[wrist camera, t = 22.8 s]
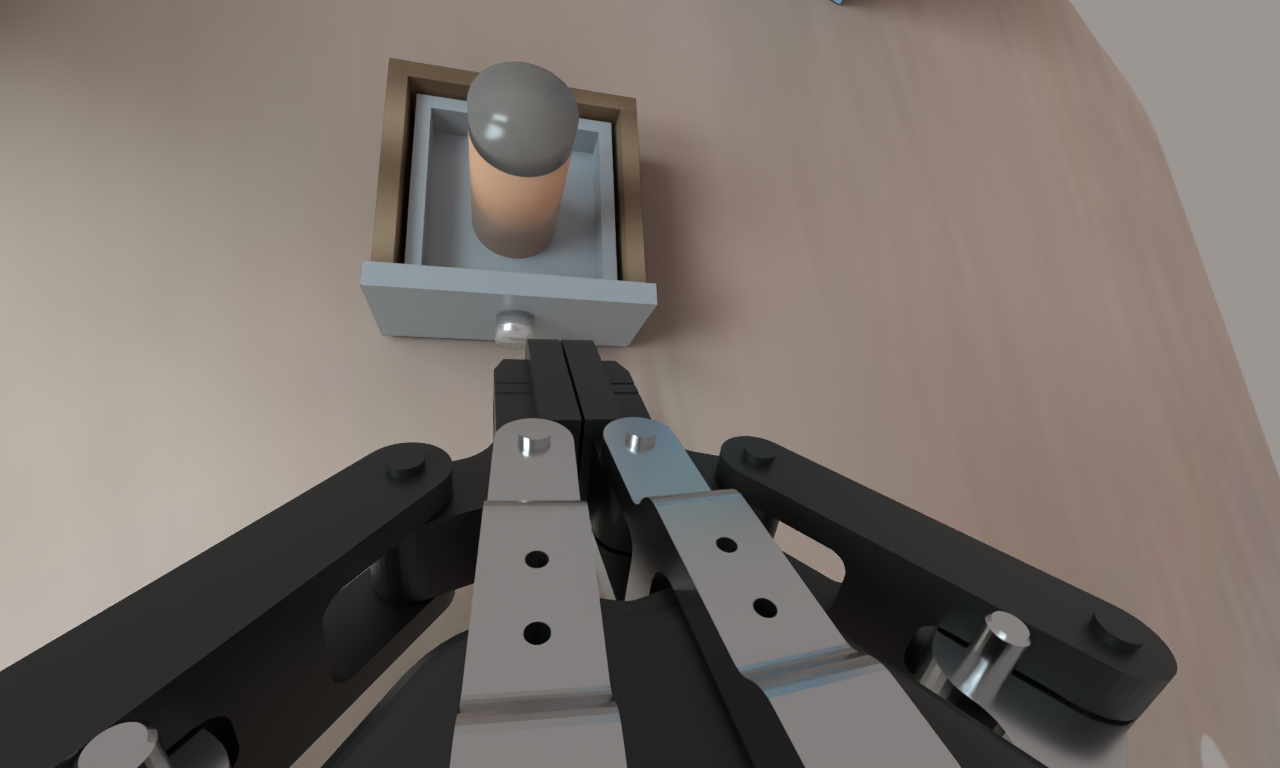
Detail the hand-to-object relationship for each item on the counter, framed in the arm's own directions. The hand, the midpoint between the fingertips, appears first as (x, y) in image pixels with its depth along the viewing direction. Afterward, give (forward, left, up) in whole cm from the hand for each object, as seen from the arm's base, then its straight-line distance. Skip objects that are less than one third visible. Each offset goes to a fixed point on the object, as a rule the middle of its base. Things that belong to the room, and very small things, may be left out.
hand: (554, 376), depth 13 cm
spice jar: (0, +15, -18) cm, 23 cm away
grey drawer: (0, +14, -20) cm, 24 cm away
